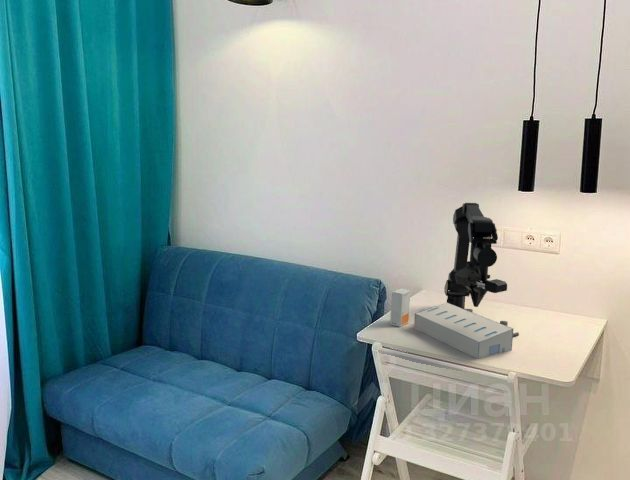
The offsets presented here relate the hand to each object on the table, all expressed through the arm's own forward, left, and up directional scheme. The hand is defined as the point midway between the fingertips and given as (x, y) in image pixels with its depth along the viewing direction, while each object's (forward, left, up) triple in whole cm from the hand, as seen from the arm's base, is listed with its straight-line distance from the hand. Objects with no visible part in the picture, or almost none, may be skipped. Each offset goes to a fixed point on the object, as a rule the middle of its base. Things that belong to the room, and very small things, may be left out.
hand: (475, 306), depth 191 cm
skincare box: (+8, -26, -13) cm, 30 cm away
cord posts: (-15, -9, -12) cm, 21 cm away
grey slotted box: (+1, -5, -13) cm, 14 cm away
